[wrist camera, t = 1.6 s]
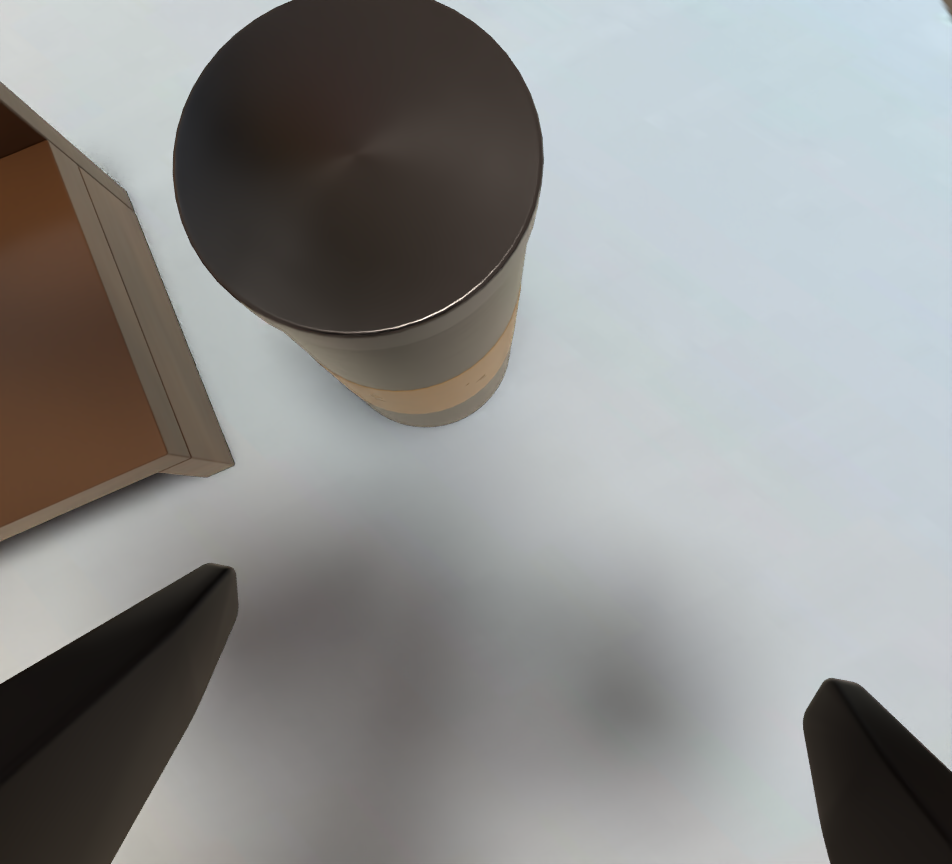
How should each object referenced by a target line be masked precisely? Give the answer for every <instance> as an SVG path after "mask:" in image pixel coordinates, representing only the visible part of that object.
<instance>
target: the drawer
mask: <svg viewBox="0 0 952 864" xmlns="http://www.w3.org/2000/svg"><path fill="white" fill-rule="evenodd" d="M232 466H234V462H233V459H232V457H231V454H230V452H229V449H228V446H227V444H226V441H225V439H224V436H223V434H222V431H221V429H220V426H219V424H218V421H217V419H216V416H215V414H214V411H213V409H212V406H211V404H210V401H209V399H208V396H207V394H206V391H205V389H204V386H203V384H202V381H201V378H200V376H199V373H198V371H197V368H196V366H195V363H194V361H193V358H192V356H191V353H190V351H189V348H188V346H187V343H186V341H185V338H184V336H183V333H182V331H181V328H180V326H179V323H178V321H177V318H176V315H175V313H174V310H173V308H172V305H171V303H170V300H169V298H168V295H167V293H166V290H165V288H164V285H163V283H162V280H161V278H160V275H159V273H158V270H157V268H156V265H155V263H154V260H153V258H152V255H151V252H150V250H149V247H148V245H147V242H146V240H145V237H144V235H143V232H142V230H141V227H140V225H139V222H138V220H137V217H136V215H135V213H134V210H133V207H132V205H131V202H130V200H129V197H128V195H127V192H126V191H125V190H124V189H123V188H122V187H121V186H119V185H118V184H117V183H116V182H115V181H114V180H113V179H111V178H110V177H109V176H108V175H107V174H106V173H105V172H103V171H102V170H101V169H100V168H99V167H98V166H96V165H95V164H94V163H93V162H92V161H91V160H90V159H88V158H87V157H86V156H85V155H84V154H83V153H82V152H80V151H79V150H78V149H77V148H76V147H75V146H74V145H72V144H71V143H70V142H69V141H68V140H67V139H66V138H64V137H63V136H62V135H61V134H60V133H59V132H58V131H56V130H55V129H54V128H53V127H52V126H51V125H50V124H48V123H47V122H46V121H45V120H44V119H43V118H42V117H40V116H39V115H38V114H37V113H36V112H35V111H33V110H32V109H31V108H30V107H29V106H28V105H27V104H25V103H24V102H23V101H22V100H21V99H20V98H19V97H17V96H16V95H15V94H14V93H13V92H12V91H11V90H9V89H8V88H7V87H6V86H5V85H4V84H3V83H1V82H0V541H2V540H5V539H7V538H9V537H12V536H14V535H16V534H18V533H21V532H23V531H25V530H28V529H30V528H32V527H34V526H37V525H39V524H41V523H44V522H46V521H48V520H50V519H53V518H55V517H57V516H59V515H62V514H64V513H66V512H69V511H71V510H73V509H75V508H78V507H80V506H82V505H85V504H87V503H89V502H91V501H94V500H96V499H98V498H101V497H103V496H105V495H107V494H110V493H112V492H114V491H116V490H119V489H121V488H123V487H126V486H128V485H130V484H132V483H135V482H137V481H139V480H142V479H144V478H146V477H148V476H151V475H153V474H155V473H167V474H177V475H187V476H197V477H209V476H211V475H213V474H216V473H218V472H220V471H222V470H225V469H227V468H229V467H232Z"/></svg>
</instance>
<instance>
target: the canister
mask: <svg viewBox="0 0 952 864" xmlns="http://www.w3.org/2000/svg"><path fill="white" fill-rule="evenodd" d="M543 164H544V155H543V137H542V132H541V127H540V122H539V117H538V113H537V110H536V108H535V105H534V102H533V99H532V96H531V93H530V91H529V89H528V87H527V86H526V84H525V82H524V80H523V78H522V76H521V74H520V72H519V71H518V69H517V68H516V66H515V65H514V63H513V62H512V61H511V59H510V58H509V56H508V55H507V53H506V52H505V51H504V50H503V49H502V48H501V47H500V46H499V45H498V44H497V42H496V41H495V40H494V39H493V38H492V37H491V36H490V35H489V34H487V33H486V32H485V31H484V30H483V29H481V28H480V27H479V26H478V25H477V24H475V23H474V22H473V21H471V20H470V19H468V18H467V17H465V16H463V15H462V14H460V13H459V12H457V11H455V10H454V9H452V8H450V7H447V6H445V5H443V4H441V3H439V2H437V1H435V0H292V1H290V2H288V3H285V4H283V5H281V6H278V7H276V8H274V9H272V10H270V11H269V12H267V13H265V14H264V15H262V16H260V17H258V18H257V19H255V20H254V21H252V22H251V23H250V24H248V25H247V26H246V27H244V28H243V29H242V30H240V31H239V32H238V33H236V34H235V35H234V36H233V37H232V38H231V39H230V40H229V41H228V42H227V43H226V44H225V45H224V46H223V47H222V48H221V49H220V50H219V51H218V52H217V53H216V55H215V56H214V57H213V58H212V60H211V61H210V62H209V63H208V64H207V66H206V67H205V68H204V70H203V72H202V73H201V75H200V76H199V78H198V80H197V81H196V83H195V85H194V86H193V88H192V90H191V92H190V95H189V97H188V99H187V101H186V103H185V106H184V108H183V111H182V114H181V118H180V121H179V124H178V128H177V132H176V138H175V145H174V151H173V181H174V189H175V198H176V202H177V206H178V210H179V214H180V218H181V221H182V224H183V226H184V229H185V231H186V234H187V236H188V238H189V241H190V243H191V245H192V246H193V248H194V250H195V251H196V253H197V255H198V256H199V258H200V260H201V261H202V263H203V264H204V266H205V267H206V268H207V269H208V271H209V272H210V273H211V274H212V276H213V277H214V278H215V279H216V281H217V282H218V283H219V284H220V285H222V286H223V287H224V288H225V289H226V290H227V291H228V292H229V293H230V294H231V295H232V296H233V297H234V298H236V299H237V300H238V301H239V302H240V303H242V304H243V305H244V306H245V307H246V308H248V309H249V310H250V311H251V312H253V313H254V314H255V315H257V316H258V317H260V318H261V319H262V320H264V321H265V322H267V323H268V324H270V325H271V326H273V327H275V328H277V329H279V330H281V331H283V332H284V333H285V334H286V335H288V336H289V337H290V338H291V339H292V340H293V341H295V342H296V343H297V344H298V345H299V346H300V347H302V348H303V349H304V350H305V351H306V352H307V353H309V354H310V355H311V356H312V357H313V358H314V359H315V360H316V361H317V362H318V363H319V364H320V365H321V366H323V367H324V368H325V369H326V370H327V371H328V372H330V373H331V374H332V375H333V376H334V377H335V378H337V379H338V380H339V381H340V382H341V383H343V384H344V385H345V386H346V387H347V388H348V389H350V390H351V391H352V392H353V393H355V394H356V395H357V396H359V397H360V398H361V399H362V400H363V401H365V402H366V403H367V404H368V405H369V406H370V407H372V408H373V409H374V410H375V411H377V412H378V413H380V414H381V415H383V416H385V417H387V418H388V419H390V420H393V421H395V422H398V423H401V424H405V425H409V426H415V427H437V426H443V425H447V424H451V423H454V422H457V421H459V420H461V419H463V418H466V417H467V416H469V415H471V414H472V413H474V412H475V411H477V410H478V409H479V408H480V407H482V406H483V405H484V404H485V403H486V402H487V401H488V400H489V399H490V398H491V397H492V395H493V394H494V392H495V391H496V390H497V388H498V387H499V385H500V383H501V381H502V379H503V377H504V374H505V372H506V369H507V366H508V361H509V357H510V350H511V344H512V338H513V334H514V328H515V322H516V316H517V309H518V303H519V296H520V290H521V279H522V272H523V266H524V259H525V252H526V246H527V242H528V239H529V237H530V234H531V231H532V229H533V226H534V221H535V217H536V212H537V208H538V203H539V197H540V191H541V185H542V176H543Z"/></svg>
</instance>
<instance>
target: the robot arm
mask: <svg viewBox="0 0 952 864" xmlns="http://www.w3.org/2000/svg"><path fill="white" fill-rule="evenodd" d="M237 614H238V591H237V578H236V572H235V570H234V569H233V568H232V567H230V566H224V565H219V564H213V563H208V564H204V565H202V566H201V567H199V568H197V569H195V570H194V571H192V572H190V573H189V574H187V575H185V576H184V577H182V578H180V579H178V580H177V581H175V582H173V583H172V584H170V585H168V586H167V587H165V588H163V589H161V590H160V591H158V592H156V593H155V594H153V595H151V596H150V597H148V598H146V599H144V600H143V601H141V602H139V603H138V604H136V605H134V606H132V607H131V608H129V609H127V610H126V611H124V612H122V613H121V614H119V615H117V616H115V617H114V618H112V619H110V620H109V621H107V622H105V623H104V624H102V625H100V626H98V627H97V628H95V629H93V630H92V631H90V632H88V633H86V634H85V635H83V636H81V637H80V638H78V639H76V640H75V641H73V642H71V643H69V644H68V645H66V646H64V647H63V648H61V649H59V650H58V651H56V652H54V653H52V654H51V655H49V656H47V657H46V658H44V659H42V660H40V661H39V662H37V663H35V664H34V665H32V666H30V667H29V668H27V669H25V670H23V671H22V672H20V673H18V674H17V675H15V676H13V677H12V678H10V679H8V680H6V681H5V682H3V683H1V684H0V864H111V862H112V860H113V859H114V857H115V855H116V853H117V852H118V850H119V848H120V846H121V844H122V843H123V841H124V839H125V837H126V836H127V834H128V832H129V830H130V829H131V827H132V825H133V823H134V821H135V820H136V818H137V816H138V814H139V813H140V811H141V809H142V807H143V806H144V804H145V802H146V800H147V798H148V797H149V795H150V793H151V791H152V790H153V788H154V786H155V784H156V783H157V781H158V779H159V777H160V775H161V774H162V772H163V770H164V768H165V767H166V765H167V763H168V761H169V760H170V758H171V756H172V754H173V752H174V751H175V749H176V747H177V745H178V744H179V742H180V740H181V738H182V737H183V735H184V733H185V731H186V729H187V728H188V726H189V724H190V722H191V720H192V718H193V716H194V714H195V712H196V710H197V708H198V706H199V704H200V702H201V699H202V697H203V695H204V692H205V690H206V688H207V686H208V683H209V681H210V679H211V676H212V674H213V672H214V669H215V667H216V665H217V662H218V660H219V658H220V656H221V653H222V651H223V649H224V646H225V644H226V642H227V639H228V637H229V635H230V632H231V630H232V628H233V626H234V623H235V621H236V618H237ZM803 730H804V736H805V742H806V747H807V753H808V758H809V764H810V769H811V775H812V780H813V786H814V792H815V797H816V803H817V808H818V814H819V819H820V824H821V829H822V833H823V838H824V841H825V845H826V849H827V853H828V857H829V860H830V864H952V772H951V771H950V770H949V769H948V768H947V767H946V766H945V765H944V764H943V763H942V762H941V761H940V760H939V759H938V758H937V757H936V756H934V755H933V754H932V753H931V752H930V751H929V750H928V749H927V748H926V747H925V746H924V745H923V744H922V743H921V742H920V741H919V740H918V739H917V738H916V737H915V736H913V735H912V734H911V733H910V732H909V731H908V730H907V729H906V728H905V727H904V726H903V725H902V724H901V723H900V722H899V721H898V720H897V719H896V718H895V717H894V716H893V715H891V714H890V713H889V712H888V711H887V710H886V709H885V708H884V707H883V706H882V705H881V704H880V703H879V702H878V701H877V700H876V699H875V698H874V697H873V696H872V695H870V694H869V693H868V692H867V691H866V690H865V689H864V688H863V687H862V686H861V685H859V684H857V683H855V682H851V681H846V680H840V679H835V678H829V679H827V680H825V681H824V682H823V683H822V685H821V686H820V688H819V690H818V691H817V693H816V695H815V696H814V698H813V699H812V701H811V703H810V704H809V706H808V708H807V709H806V711H805V714H804V718H803Z"/></svg>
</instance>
